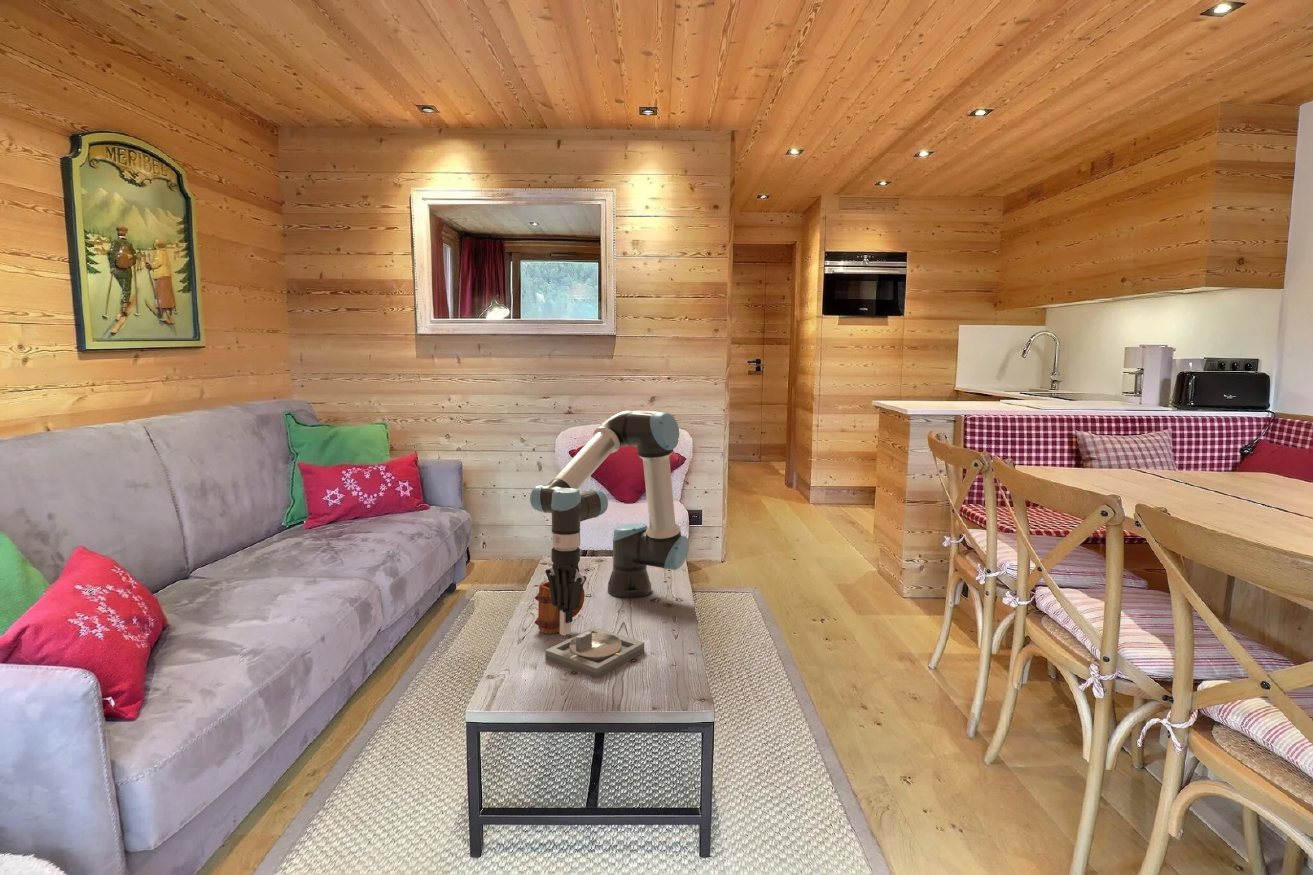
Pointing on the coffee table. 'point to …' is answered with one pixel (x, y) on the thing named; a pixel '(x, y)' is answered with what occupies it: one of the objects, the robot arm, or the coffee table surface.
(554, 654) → the board
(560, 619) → the robot arm
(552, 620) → the mug
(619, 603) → the coffee table surface
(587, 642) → the dial
